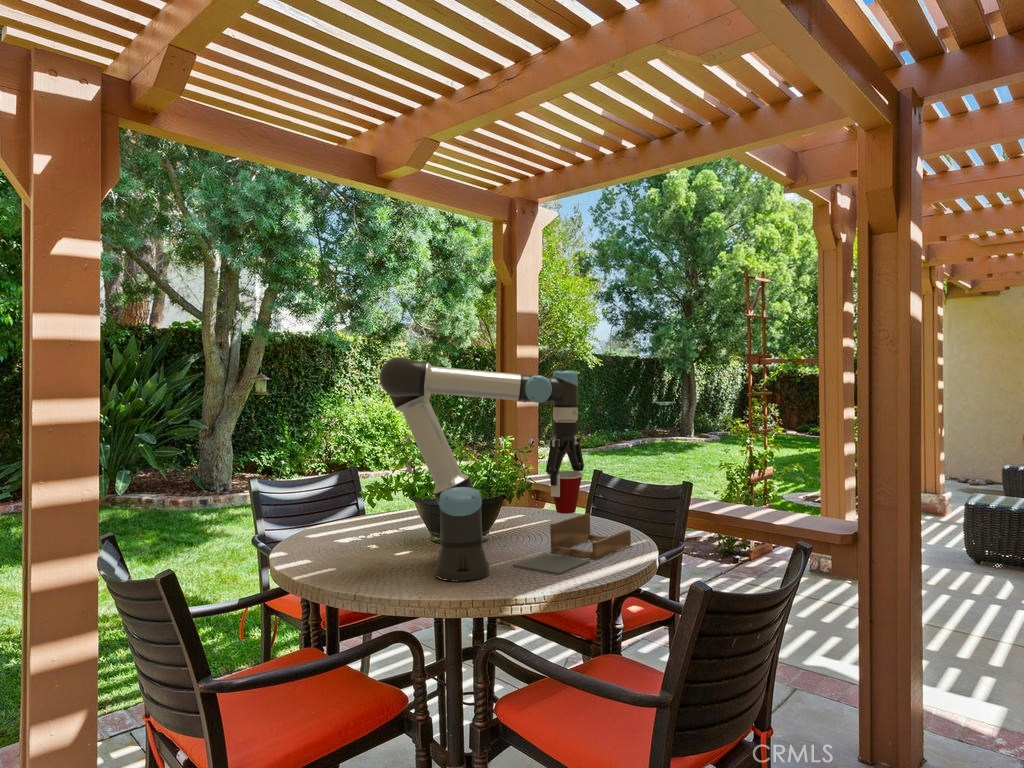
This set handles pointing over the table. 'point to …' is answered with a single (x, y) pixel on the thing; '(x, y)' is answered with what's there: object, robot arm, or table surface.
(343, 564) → the table surface
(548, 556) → the mat
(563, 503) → the plastic cup
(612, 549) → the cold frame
